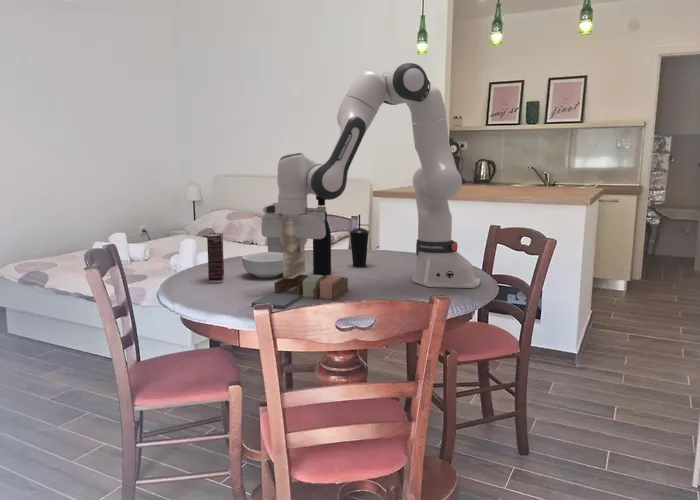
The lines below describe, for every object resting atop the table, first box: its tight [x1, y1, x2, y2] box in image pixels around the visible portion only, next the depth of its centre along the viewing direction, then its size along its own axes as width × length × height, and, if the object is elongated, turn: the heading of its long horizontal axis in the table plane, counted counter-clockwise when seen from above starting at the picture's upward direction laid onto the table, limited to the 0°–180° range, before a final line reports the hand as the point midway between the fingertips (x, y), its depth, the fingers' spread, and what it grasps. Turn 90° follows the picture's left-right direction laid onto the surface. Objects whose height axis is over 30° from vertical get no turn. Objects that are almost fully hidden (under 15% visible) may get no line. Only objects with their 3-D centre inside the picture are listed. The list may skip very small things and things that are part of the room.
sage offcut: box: [302, 274, 323, 298], centre depth 166 cm, size 4×9×5 cm, turn 169°
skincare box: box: [266, 237, 283, 253], centre depth 218 cm, size 8×7×16 cm
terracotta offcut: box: [319, 275, 343, 300], centre depth 165 cm, size 4×9×5 cm, turn 163°
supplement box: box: [206, 232, 225, 284], centre depth 183 cm, size 9×5×16 cm, turn 9°
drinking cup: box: [348, 214, 370, 268], centre depth 206 cm, size 8×8×20 cm
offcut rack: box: [273, 274, 349, 301], centre depth 167 cm, size 19×13×4 cm
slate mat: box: [251, 292, 302, 310], centre depth 156 cm, size 10×12×1 cm
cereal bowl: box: [241, 251, 283, 279], centre depth 191 cm, size 17×17×7 cm
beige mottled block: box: [282, 218, 306, 279], centre depth 166 cm, size 3×10×18 cm, turn 163°
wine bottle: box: [312, 195, 332, 276], centre depth 192 cm, size 6×6×30 cm
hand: (293, 252), depth 167 cm, fingers closed on beige mottled block, 3 cm apart
